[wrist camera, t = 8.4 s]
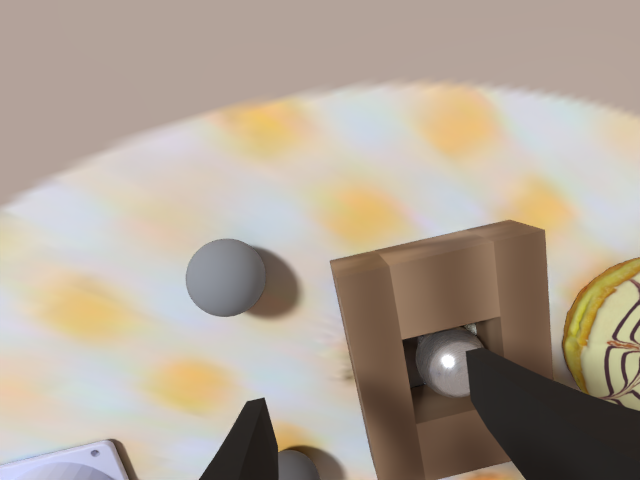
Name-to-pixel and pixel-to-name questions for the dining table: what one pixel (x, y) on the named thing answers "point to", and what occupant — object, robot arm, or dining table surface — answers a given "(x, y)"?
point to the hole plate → (435, 315)
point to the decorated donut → (607, 336)
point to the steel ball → (446, 360)
